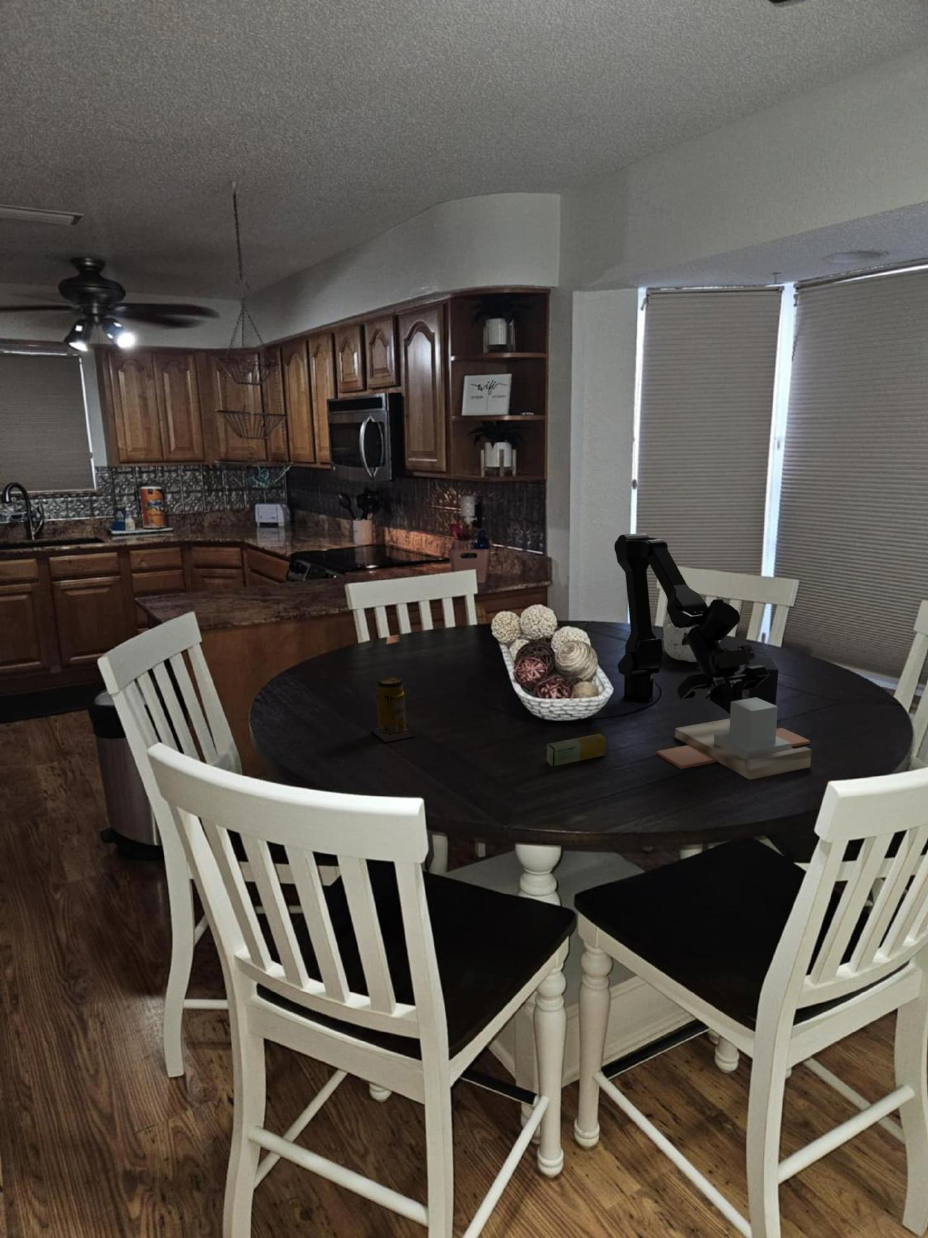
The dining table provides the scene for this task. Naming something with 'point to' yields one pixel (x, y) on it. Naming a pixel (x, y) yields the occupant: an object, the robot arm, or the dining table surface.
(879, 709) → the dining table surface
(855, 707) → the dining table surface
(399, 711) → the condiment
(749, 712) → the stepped block
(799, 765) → the birch board
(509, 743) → the dining table surface
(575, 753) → the medication box
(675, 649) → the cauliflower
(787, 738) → the pad
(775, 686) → the small box
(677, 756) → the pad
